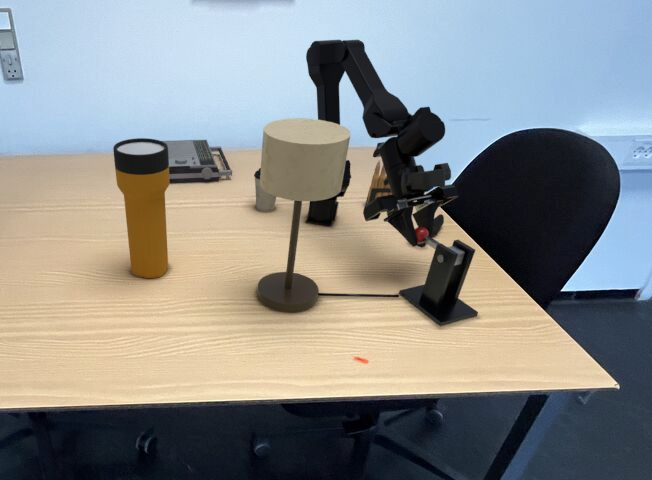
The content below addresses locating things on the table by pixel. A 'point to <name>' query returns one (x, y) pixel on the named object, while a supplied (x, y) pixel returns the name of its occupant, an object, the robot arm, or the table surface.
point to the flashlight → (144, 202)
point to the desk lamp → (300, 195)
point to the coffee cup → (263, 196)
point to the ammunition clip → (378, 185)
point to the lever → (424, 237)
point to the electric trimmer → (435, 227)
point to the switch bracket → (443, 286)
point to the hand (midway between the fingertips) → (422, 244)
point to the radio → (194, 162)
